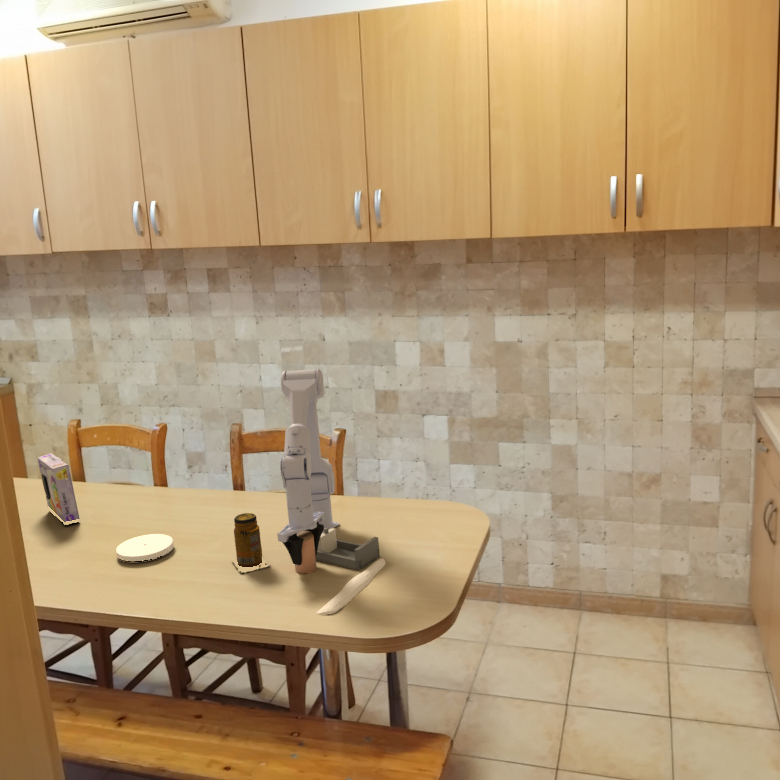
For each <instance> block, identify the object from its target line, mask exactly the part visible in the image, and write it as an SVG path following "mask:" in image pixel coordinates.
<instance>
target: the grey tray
mask: <svg viewBox="0 0 780 780" xmlns="http://www.w3.org/2000/svg"><path fill="white" fill-rule="evenodd" d="M336 539H337V538H336ZM380 556H381V555H380V543H379V537H378V536H373V537H372V538H370V539H368V540H366V541H365V542H363V543H355V542H353V541H352V542H351V541H347V540H343V539H337V548H336V549H335V550H333V551H331V552H330V553H328V552H323V551H319V550H318V551H317V555H316V561H319V562H323V563H328V564H332V565H335V566H340V567H344V568H349V569H352V570H356V571H361V570H362V569H364V568H365V567H367V566H369V565H370V564H372V563H374V562H375V560H376V561H377V560H378V558H379V559H380Z"/></svg>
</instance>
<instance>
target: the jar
mask: <svg viewBox="0 0 780 780" xmlns="http://www.w3.org/2000/svg"><path fill="white" fill-rule="evenodd" d="M297 536H298V538H303V539H304V541H303V545H302V564H301V565H295V564H294V569H295V572H296V573H297V572H298V573H297V574H300V573H303V574H304V573H307V574H310V572H311V573H314V572H315V571H316V570H317V560H316V555H315V545H314V536H313V533H312V532H310V531H301V532H300V533H298V534H297ZM313 571H314V572H313ZM303 574H302V575H303ZM304 575H305V574H304Z"/></svg>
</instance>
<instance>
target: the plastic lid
mask: <svg viewBox="0 0 780 780" xmlns="http://www.w3.org/2000/svg"><path fill="white" fill-rule="evenodd" d="M174 546H175V544H174V538H173V537H172V536H170V535H169V534H163V533H150V534H143V535H138V536H135V537H132V538H131V537H130V538H129V539H127V540H125V541H122V542H121V543H120V544H119V545H117V547H116V548H115V553H116V557H117V556H118V557H119V558H121V559H123V560H128V561H142V560H143V561H144V560H148V561H151V560H150V559H152V560H155V559H158V558H157V557H159V558H160V556H162V557H164V556H166V555H168V554H169V553H170V552H171V551H172V550H173V549H174V548H175V547H174ZM143 561H142V562H143ZM144 562H145V561H144Z"/></svg>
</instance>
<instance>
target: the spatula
mask: <svg viewBox="0 0 780 780" xmlns="http://www.w3.org/2000/svg"><path fill="white" fill-rule="evenodd" d="M385 565H386V561H385V559H384V558H379V559H376V561H373V562H372V563H371V565H368V567H367V568H365V570H363V571H362V572H360V573H359V574H357V575H355V576H353V577H352V578H351V579H350V580H349V581H348V582H347V583H346V584H345V585H344V586H343V588H342V589H341V590H340V591H339V592H338V593H337V594H336V595H335V596H334V597H332V598H331V599H330V600H329V601H328V602H327V603H326V604H324V605H323V606H322V607H321V608H320V609H319V610H317V612H316V614H317V613H318V614H329V615H332V614H335V613H337V612H339V611H340V609H342V608H344V607H345V606H346V605H347V604H346V603H348V602H349V601H350V602H351V600H352V599H351V598H353V597H354V596H355V595H356V594H357V593H358V592H359V591H360V592H361V591H362V590H364V589H365V588H366V587H367V586H368V585H369V584H370V583H371V581H372V580H373V579H374V577H375V576H376V575H377V574H378V573H379V572H380V571H381V570H382V569H383V568H384V566H385ZM365 586H366V587H365ZM360 592H359V593H360ZM359 593H358V594H359ZM358 594H357V595H358ZM357 595H356V596H357ZM356 596H355V597H356ZM355 597H354V598H355ZM354 598H353V599H354ZM350 599H351V600H350ZM350 602H349V603H350ZM349 603H348V604H349ZM318 614H317V615H318Z"/></svg>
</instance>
